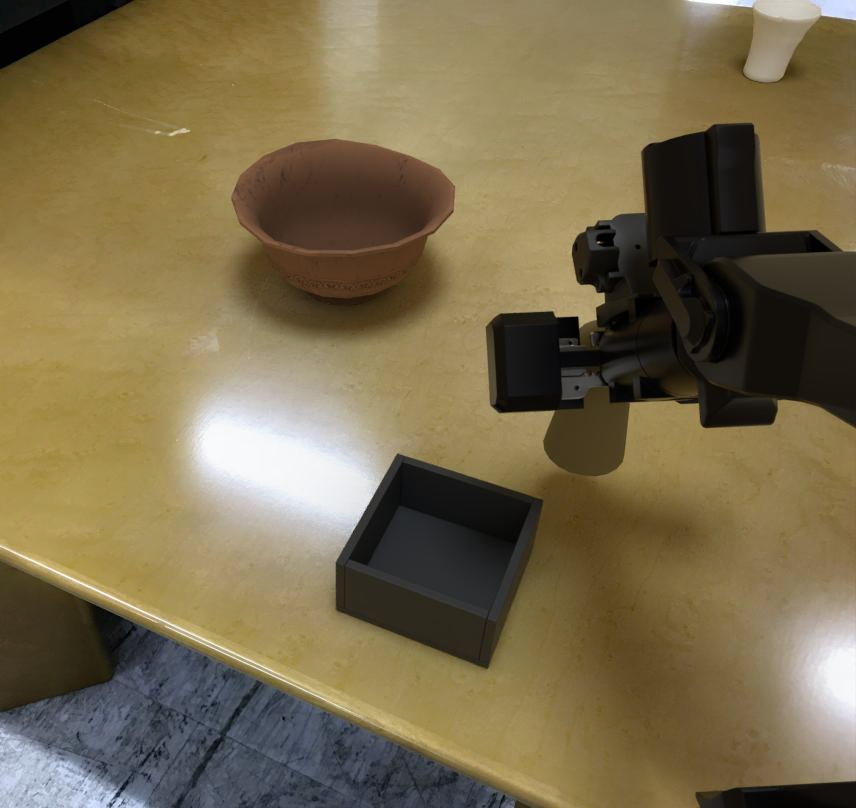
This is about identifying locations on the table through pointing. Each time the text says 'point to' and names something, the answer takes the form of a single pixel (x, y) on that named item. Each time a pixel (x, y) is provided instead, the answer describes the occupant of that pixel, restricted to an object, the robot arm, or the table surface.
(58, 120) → the table surface
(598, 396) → the cork
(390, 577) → the dark grey square box
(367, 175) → the bowl
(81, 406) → the table surface
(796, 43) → the cup
